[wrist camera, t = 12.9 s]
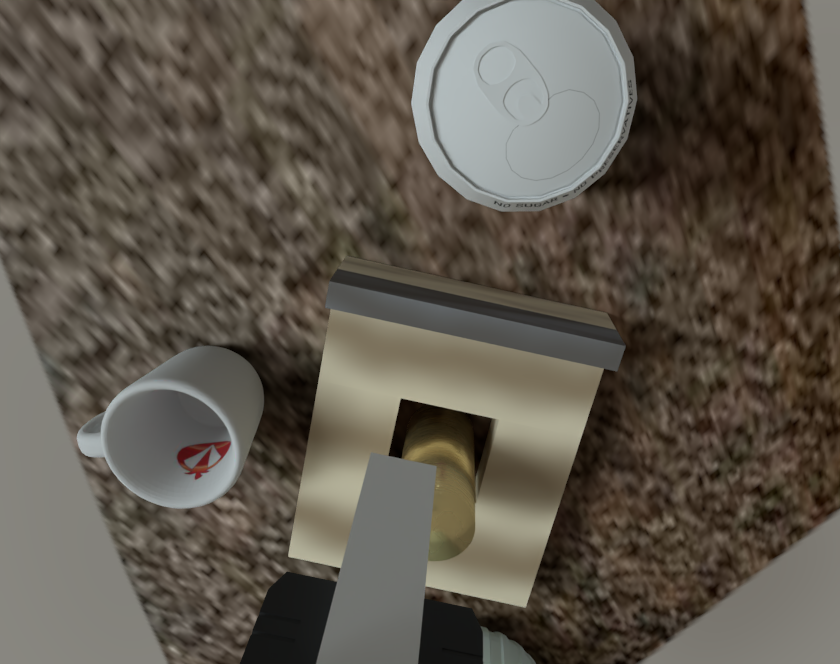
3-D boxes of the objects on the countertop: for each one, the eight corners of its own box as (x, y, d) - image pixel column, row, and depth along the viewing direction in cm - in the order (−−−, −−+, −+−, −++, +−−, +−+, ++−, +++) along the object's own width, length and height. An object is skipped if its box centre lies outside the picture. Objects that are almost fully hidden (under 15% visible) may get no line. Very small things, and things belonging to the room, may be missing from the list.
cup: (139, 452, 48) (78, 523, 41) (101, 344, 46) (29, 398, 38) (292, 433, 47) (258, 502, 40) (262, 321, 44) (220, 372, 37)
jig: (346, 255, 43) (329, 281, 37) (607, 312, 43) (625, 346, 38) (298, 529, 50) (278, 582, 44) (522, 577, 50) (528, 635, 45)
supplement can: (612, 98, 39) (694, 113, 24) (494, 197, 41) (506, 263, 27) (518, -27, 37) (548, -87, 23) (400, 84, 39) (360, 92, 25)
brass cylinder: (413, 396, 45) (399, 482, 36) (481, 411, 45) (484, 499, 36) (400, 455, 47) (383, 551, 38) (465, 469, 47) (464, 568, 38)
